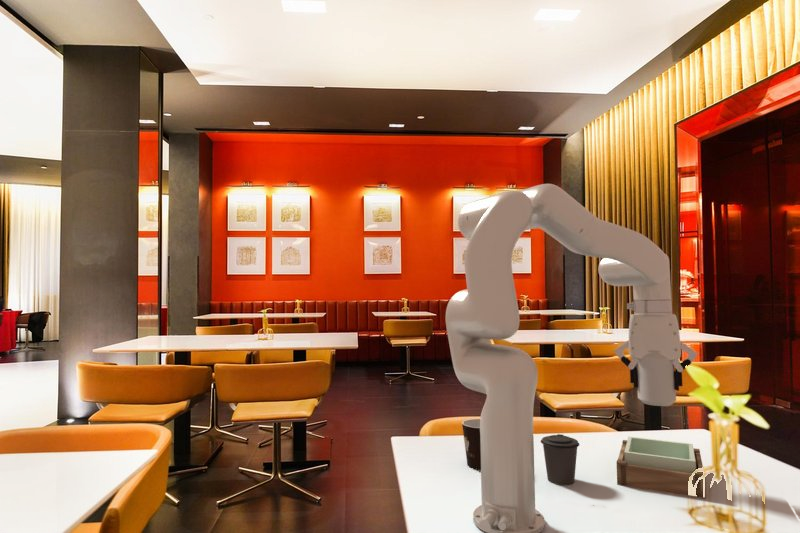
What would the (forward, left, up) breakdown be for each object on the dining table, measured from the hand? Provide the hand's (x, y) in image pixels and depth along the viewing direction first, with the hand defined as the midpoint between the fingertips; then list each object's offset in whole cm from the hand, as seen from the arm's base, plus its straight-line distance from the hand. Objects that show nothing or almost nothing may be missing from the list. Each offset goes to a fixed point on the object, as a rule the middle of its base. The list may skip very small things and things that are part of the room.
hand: (656, 387), depth 109 cm
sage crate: (+1, 0, -19) cm, 19 cm away
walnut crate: (+1, 0, -20) cm, 20 cm away
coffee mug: (-9, +38, -20) cm, 44 cm away
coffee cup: (-11, +19, -20) cm, 30 cm away
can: (0, 0, -4) cm, 4 cm away
